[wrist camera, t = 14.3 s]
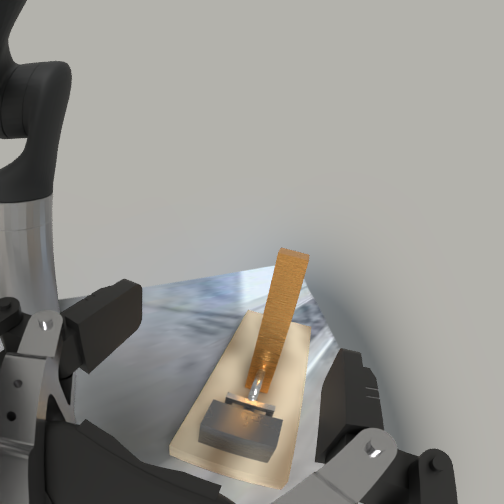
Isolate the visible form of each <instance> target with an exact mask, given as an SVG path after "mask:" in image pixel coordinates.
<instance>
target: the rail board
mask: <svg viewBox="0 0 504 504" xmlns="http://www.w3.org/2000/svg"><path fill="white" fill-rule="evenodd" d="M262 318H263V314H261V313H257V312H254V311H250V310H248V311H247V313H246V314H245V316H244V318H243V320H242V322H241V323H240V325H239V327H238V329H237V330H236V332H235V334H234V336H233V337H232V339H231V341H230V343H229V345H228V346H227V348H226V350H225V352H224V353H223V355H222V357H221V358H220V360H219V362H218V364H217V365H216V367H215V369H214V371H213V372H212V374H211V376H210V378H209V379H208V381H207V383H206V384H205V386H204V388H203V389H202V391H201V393H200V395H199V396H198V398H197V400H196V401H195V403H194V405H193V406H192V408H191V410H190V411H189V413H188V415H187V416H186V418H185V420H184V421H183V423H182V425H181V426H180V428H179V430H178V431H177V433H176V435H175V436H174V438H173V439H172V441H171V443H170V444H169V452H170V455H171V456H173V457H176V458H178V459H180V460H183V461H185V462H188V463H190V464H193V465H196V466H198V467H201V468H204V469H206V470H209V471H212V472H215V473H218V474H221V475H224V476H228V477H231V478H234V479H238V480H242V481H245V482H249V483H253V484H257V485H261V486H266V487H270V488H275V489H280V490H281V489H282V488H283V487H284V486H285V485H286V483H287V482H288V479H289V474H290V469H291V464H292V459H293V454H294V449H295V443H296V437H297V432H298V426H299V420H300V413H301V407H302V400H303V393H304V386H305V378H306V370H307V362H308V353H309V344H310V334H311V327H309V326H305V325H301V324H297V323H294V322H291V323H290V327H289V330H288V333H287V336H286V339H285V342H284V346H283V349H282V352H281V355H280V358H279V361H278V364H277V367H276V370H275V373H274V376H273V378H272V381H271V384H270V387H269V390H268V393H267V394H266V393H262V392H259V395H258V398H257V399H258V402H262V403H266V404H269V405H273V406H276V407H275V411H274V414H273V416H272V417H274V418H278V419H282V420H283V423H282V427H281V431H280V436H279V440H278V444H277V448H276V449H275V451H274V453H273V455H272V456H271V458H270V460H269V462H268V463H265V462H260V461H257V460H253V459H249V458H245V457H242V456H238V455H235V454H232V453H229V452H225V451H222V450H219V449H216V448H214V447H211V446H208V445H205V444H202V443H200V442H198V439H199V431H200V424H201V422H202V420H203V418H204V416H205V414H206V412H207V410H208V409H209V407H210V405H211V403H212V401H213V399H214V400H217V401H220V402H223V403H225V399H226V395H227V393H228V392H229V393H232V394H235V395H238V396H241V397H245V398H247V397H248V395H249V392H250V390H251V389H248V388H245V384H246V380H247V376H248V372H249V369H250V365H251V361H252V357H253V353H254V350H255V346H256V342H257V338H258V334H259V330H260V326H261V322H262ZM232 406H235V407H239V408H242V409H243V407H244V406H241V405H238V404H235V403H233V404H232ZM254 412H255V413H259V414H263V415H265V412H262V411H258V410H254Z"/></svg>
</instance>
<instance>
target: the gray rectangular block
mask: <svg viewBox="0 0 504 504" xmlns="http://www.w3.org/2000/svg"><path fill="white" fill-rule="evenodd" d="M247 398H248V397H247ZM255 401H258V399H257V400H255ZM254 410H255V409H251V408H248V407H243V409H242V408H239V407H235V406H232V405H229V404H226V403H223V402H220V401H217V400H214V399H213V401H212V403H211V405H210V407H209V409H208V410H207V412H206V414H205V416H204V418H203V420H202V422H201V424H200V431H199V439H198V442H200V443H202V444H205V445H208V446H211V447H214V448H216V449H219V450H222V451H225V452H229V453H232V454H235V455H238V456H242V457H245V458H249V459H253V460H257V461H260V462H265V463H268V462H269V460H270V458H271V456H272V455H273V453H274V451H275V449H276V448H277V444H278V440H279V436H280V431H281V427H282V423H283V420H282V419H278V418H274V417H270V416H266V415H263V414H259V413H255V412H254Z"/></svg>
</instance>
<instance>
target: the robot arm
mask: <svg viewBox="0 0 504 504" xmlns="http://www.w3.org/2000/svg"><path fill="white" fill-rule="evenodd" d="M26 1H27V0H0V138H1V139H15V138H27V142H26V145H25V148H24V151H23V152H22V154H21V155H20V156H19V157H18V158H17V159H16V160H14V161H13V162H12V163H10V164H9V165H7V166H5V167H4V168H2V169H0V338H1V341H2V343H3V346H4V350H3V351H1V352H0V504H235V503H234V502H233V501H231V500H230V499H228V498H227V497H225V496H223V495H222V494H220V493H219V491H220V488H221V485H218V484H215V483H212V482H209V481H206V480H203V479H201V478H198V477H195V476H193V475H190V474H187V473H185V472H181V471H176V470H171V469H167V468H162V467H158V466H154V465H150V464H146V463H143V462H141V461H140V460H138V459H137V458H136V457H135V456H134V455H133V454H131V453H130V452H129V451H128V450H127V449H126V448H125V447H124V446H123V445H121V444H120V443H119V442H118V441H117V440H116V439H115V438H114V437H113V436H111V435H109V434H108V433H106V432H105V431H103V430H101V429H100V428H98V427H97V426H95V425H94V424H92V423H91V422H89V421H88V420H86V419H85V420H84V421H83V422H82V424H81V425H77V424H76V420H75V415H74V401H75V384H76V373H75V370H77V369H78V368H81V369H82V370H83V371H85V372H87V373H88V374H89V373H90V372H91V371H92V370H94V369H95V368H96V367H97V366H98V365H99V364H100V363H101V362H102V361H103V360H104V359H105V358H107V357H108V356H109V355H110V354H111V353H112V352H113V351H114V350H115V349H116V348H117V347H119V346H120V345H121V344H122V343H123V342H124V341H125V340H126V339H127V338H129V337H130V336H131V335H132V334H133V333H134V332H135V331H136V330H137V329H138V328H139V326H140V324H141V320H142V287H141V285H139V284H137V283H134V282H132V281H129V280H127V279H123V280H121V281H119V282H117V283H116V284H114V285H112V286H108V287H105V288H101V289H99V290H97V291H95V292H94V293H92V294H91V295H89V296H87V297H85V299H82V300H81V301H79V302H77V303H76V304H74V305H72V306H71V307H69V308H68V309H66V310H64V311H63V312H61V313H60V308H59V302H58V294H57V286H56V278H55V267H54V255H53V234H52V199H53V194H52V193H53V180H54V173H55V167H56V159H57V151H58V144H59V139H60V134H61V129H62V124H63V120H64V116H65V112H66V108H67V104H68V100H69V95H70V90H71V80H72V75H71V69H70V67H69V65H68V64H67V63H65V62H61V61H50V62H39V63H29V64H22V65H19V64H17V63H15V62H14V61H13V59H12V57H11V54H10V51H9V46H8V38H9V34H10V32H11V29H12V27H13V25H14V23H15V21H16V19H17V17H18V15H19V13H20V12H21V10H22V8H23V6H24V5H25V3H26ZM377 390H378V386H377V381H376V377H375V376H374V374H373V373H372V371H371V370H370V368H367V367H363V364H362V357H361V353H360V352H356V351H351V350H347V349H342V348H341V349H340V350H339V352H338V354H337V356H336V358H335V360H334V362H333V364H332V366H331V368H330V370H329V372H328V374H327V376H326V378H325V380H324V383H323V387H322V391H321V404H320V417H319V428H318V438H317V447H316V456H315V462H318V463H325V465H324V466H323V467H322V468H321V469H319V470H318V471H317V472H314V473H313V474H311V475H310V476H309V477H307V478H306V479H305V480H303V481H302V482H301V483H299V484H298V485H297V486H295V487H294V488H293V489H291V490H290V491H288V492H287V493H286V494H284V495H283V496H281V497H280V498H278V499H277V500H275V501H274V502H272V503H271V504H358V502H361V503H364V504H458V503H457V492H456V484H455V477H454V470H453V465H452V461H451V459H450V458H449V456H448V455H447V454H446V453H445V452H443V451H441V450H439V449H429V450H426V451H425V452H423V453H422V454H421V455H420V456H415V455H412V454H409V453H406V452H403V451H401V450H398V449H397V445H396V442H395V440H394V439H393V437H392V436H391V435H390V434H389V433H387V432H385V431H384V427H383V419H382V412H381V405H380V399H379V392H378V391H377Z"/></svg>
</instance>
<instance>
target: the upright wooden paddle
mask: <svg viewBox="0 0 504 504" xmlns="http://www.w3.org/2000/svg"><path fill="white" fill-rule="evenodd" d="M308 261H309V255H308V254H304V253H300V252H296V251H292V250H288V249H285V248H281V249H280V251H279V252H278V256H277V260H276V265H275V269H274V273H273V277H272V281H271V286H270V290H269V294H268V298H267V302H266V306H265V310H264V314H263V318H262V322H261V326H260V330H259V334H258V338H257V342H256V346H255V350H254V353H253V357H252V361H251V365H250V369H249V372H248V376H247V380H246V384H245V388H248V389H251V390H250V392H249V395H248V398H245V397H241V396H238V395H235V394H232V393H229V392H228V393H227V395H226V399H225V403H226V404H229V405H232V404H233V403H235V404H238V405H241V406H244V407H248V408H251V409H255V410H258V411H262V412H265V415H266V416H270V417H272V416H273V414H274V411H275V407H276V406H273V405H269V404H266V403H262V402H258V401H255V400H257V398H258V395H259V392H262V393H266V394H267V393H268V390H269V387H270V384H271V381H272V378H273V376H274V373H275V370H276V367H277V364H278V361H279V358H280V355H281V352H282V349H283V346H284V342H285V339H286V336H287V333H288V330H289V327H290V323H291V320H292V317H293V314H294V310H295V307H296V304H297V300H298V297H299V293H300V290H301V286H302V283H303V279H304V276H305V272H306V268H307V265H308Z"/></svg>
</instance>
